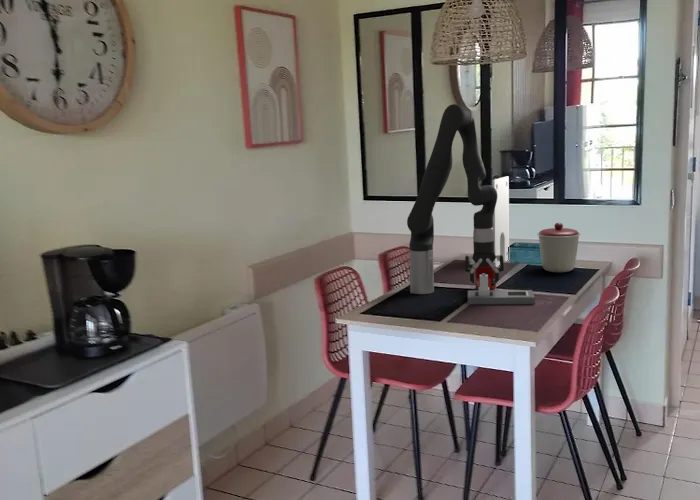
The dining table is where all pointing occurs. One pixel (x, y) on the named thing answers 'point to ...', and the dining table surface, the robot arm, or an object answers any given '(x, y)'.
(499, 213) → the white bracket plate
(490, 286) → the canned food
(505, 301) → the panel
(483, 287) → the plug
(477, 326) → the dining table surface
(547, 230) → the canister
